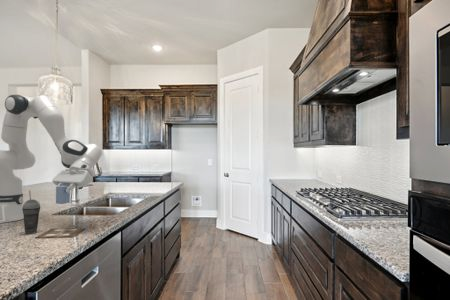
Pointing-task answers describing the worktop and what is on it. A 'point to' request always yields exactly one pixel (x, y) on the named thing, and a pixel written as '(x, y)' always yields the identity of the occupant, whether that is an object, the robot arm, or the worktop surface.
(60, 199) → the slate block
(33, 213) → the beverage cup
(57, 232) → the board
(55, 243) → the worktop surface
